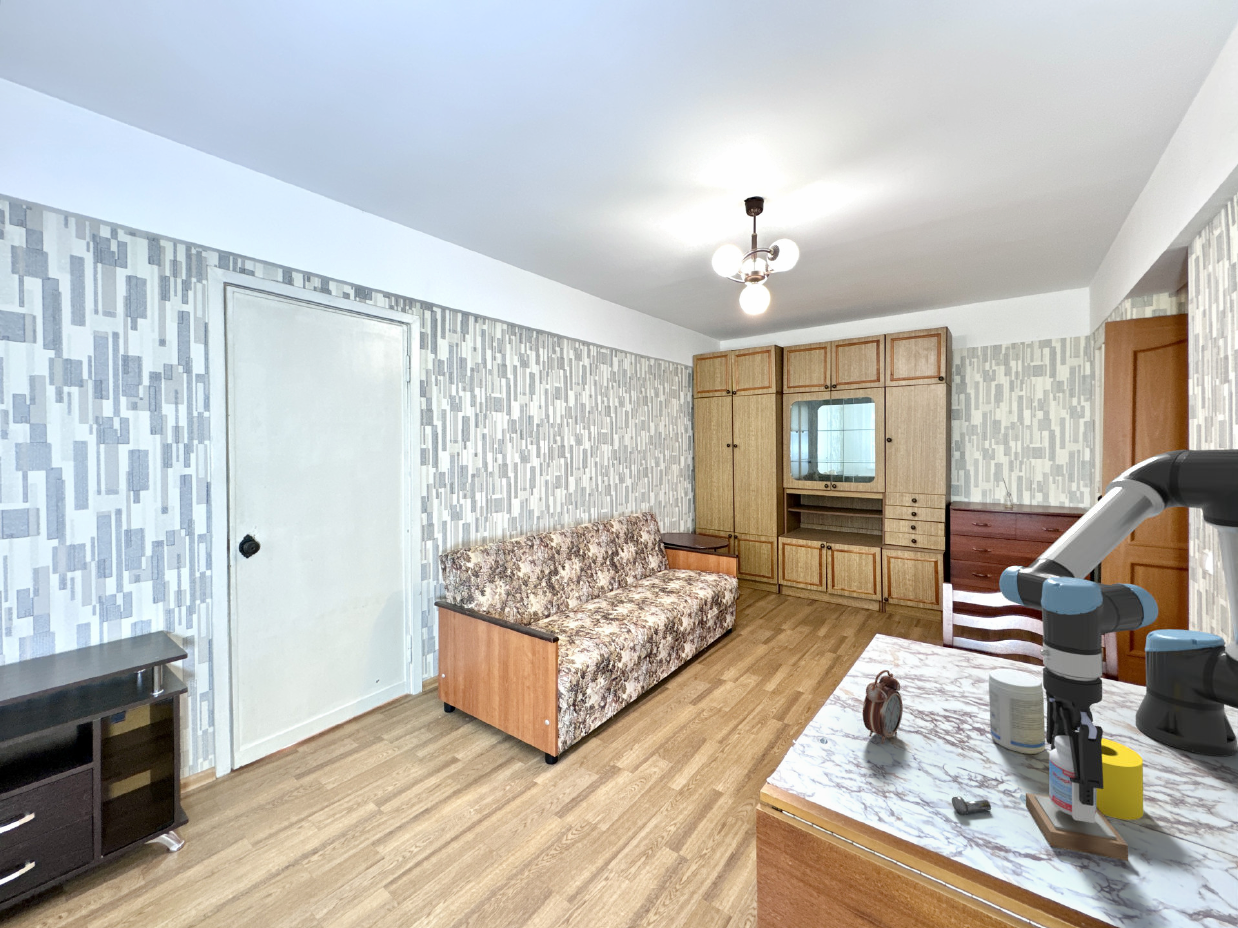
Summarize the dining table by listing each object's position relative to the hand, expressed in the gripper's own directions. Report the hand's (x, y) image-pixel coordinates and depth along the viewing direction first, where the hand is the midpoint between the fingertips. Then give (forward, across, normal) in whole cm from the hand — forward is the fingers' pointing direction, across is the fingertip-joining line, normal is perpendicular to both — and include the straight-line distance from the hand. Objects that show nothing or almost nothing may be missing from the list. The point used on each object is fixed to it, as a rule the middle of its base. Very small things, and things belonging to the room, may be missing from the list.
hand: (1073, 805), depth 87 cm
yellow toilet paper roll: (+5, -11, +9) cm, 15 cm away
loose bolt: (+4, -1, -14) cm, 15 cm away
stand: (+4, 0, 0) cm, 4 cm away
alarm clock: (+5, -23, -26) cm, 35 cm away
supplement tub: (+5, -28, +1) cm, 28 cm away
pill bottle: (+1, 0, 0) cm, 1 cm away
